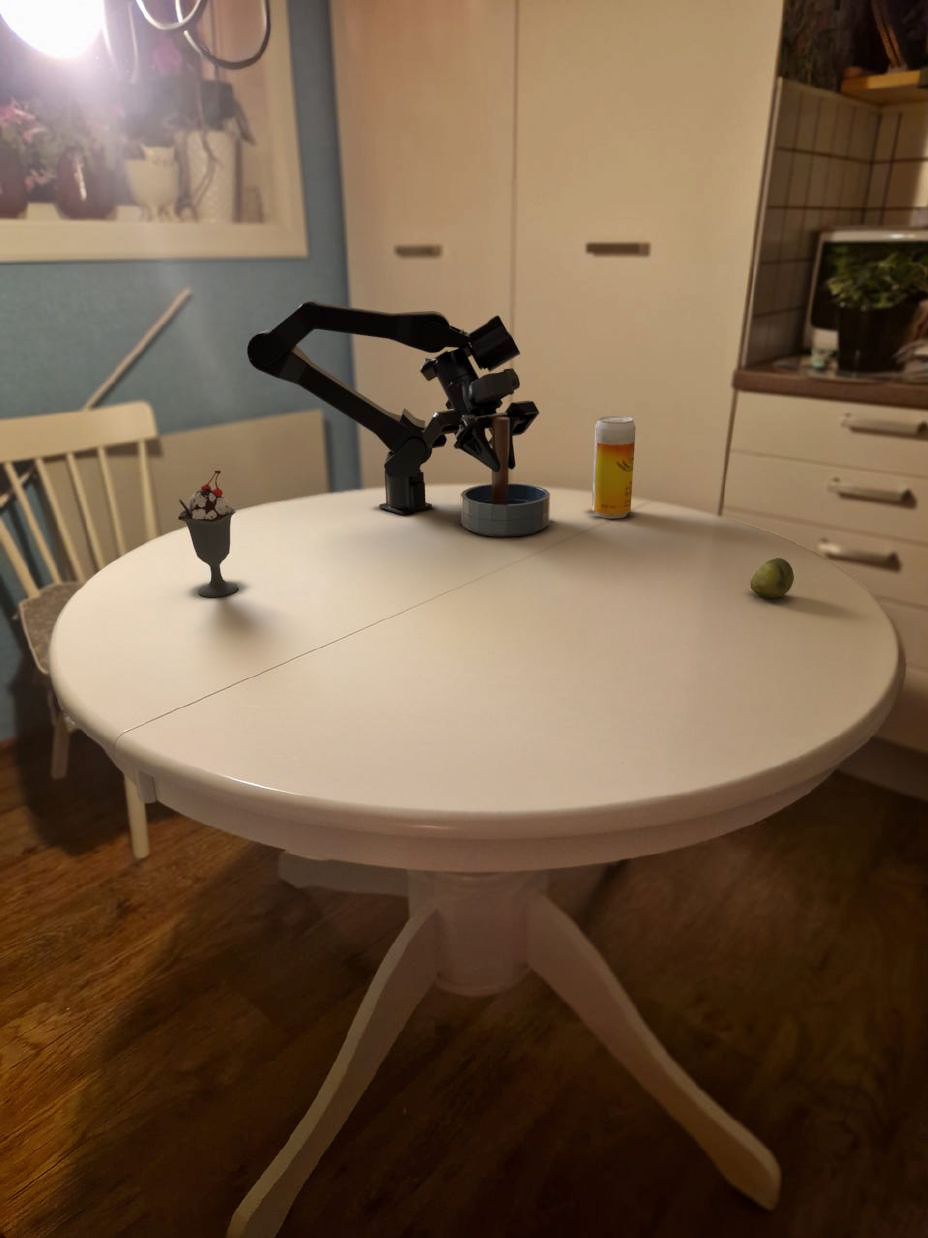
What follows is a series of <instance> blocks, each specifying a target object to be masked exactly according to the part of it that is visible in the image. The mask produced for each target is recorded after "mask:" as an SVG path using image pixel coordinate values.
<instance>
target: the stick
mask: <svg viewBox="0 0 928 1238" xmlns="http://www.w3.org/2000/svg"><path fill="white" fill-rule="evenodd" d="M509 421H510V419H509V418H508V417H494V418H492V435H491V437H492V446H491V448H492V450H493V452H494V454H495V456H496V458H497V460H498V463H499V465H500V470H499V471H498V472H494V471H493V470H491V484H492V499H491V504H503V505H508V492H509V483H510V468H509Z"/></svg>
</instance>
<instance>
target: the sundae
mask: <svg viewBox="0 0 928 1238" xmlns="http://www.w3.org/2000/svg"><path fill="white" fill-rule="evenodd" d="M221 472H222V471H221V470H215V471H214V474H213V475H212V477H211V479H210V480H209V481H208V482H207V483H206V484H203V485H201V487H200V489H199V490H197V491H194V493H193V494H192V496H191V497H190V498H189V504H188V505H189V507H188V506H187V504H185V502H184V501H183V500H182V499H181V498H179V499H178V501H179V503H180V505H181V506H182V507H183V509H184V510H182V511H181V512H180V513H179V514H178V515H179V516H178V518H177V519H178V520H179V521H182V522H184V523H185V524H186V527H187V530H188V532H189V535H190V538H191V542H192V546H193V549H194V552H195V554H196V557H197V558H198V559H199V560H200V561H202V562H203V563H205V564H206V565H208V566H209V569H210V581H209V583H207V584H204V585H202V586H201V587H200V588H198V590H197V593H198V594H199V595H200V596H202V597H206V598H219V597H224V596H229V595H232V594H233V593H235V592H237V591H238V589H239V585H238V584H237V583H234V582H229V581H225V579H224V578H223V576H222V575H223V574H222V572H221V571H222V570H221V564H222V563H223V562H224V561H225V560H226V559H227V557H228V555H230V549H231V523H232V517H233V515H235V514H236V513H237V511H236V509H234V508H233V507H232V506H231V505H230V503H229V501H228V500H227V499H226V498H225V497H223V490H222V489H220V488H219V487H218V486H219V485H218V483H217V482H218V481H217V480H218V479H217V478H218V477H219V475H220V474H221ZM215 475H216V476H215ZM214 478H215V481H214V483H215V488H214V489H213V490H212V487H211V485H210V483H211V482H212V481H213V479H214Z"/></svg>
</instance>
